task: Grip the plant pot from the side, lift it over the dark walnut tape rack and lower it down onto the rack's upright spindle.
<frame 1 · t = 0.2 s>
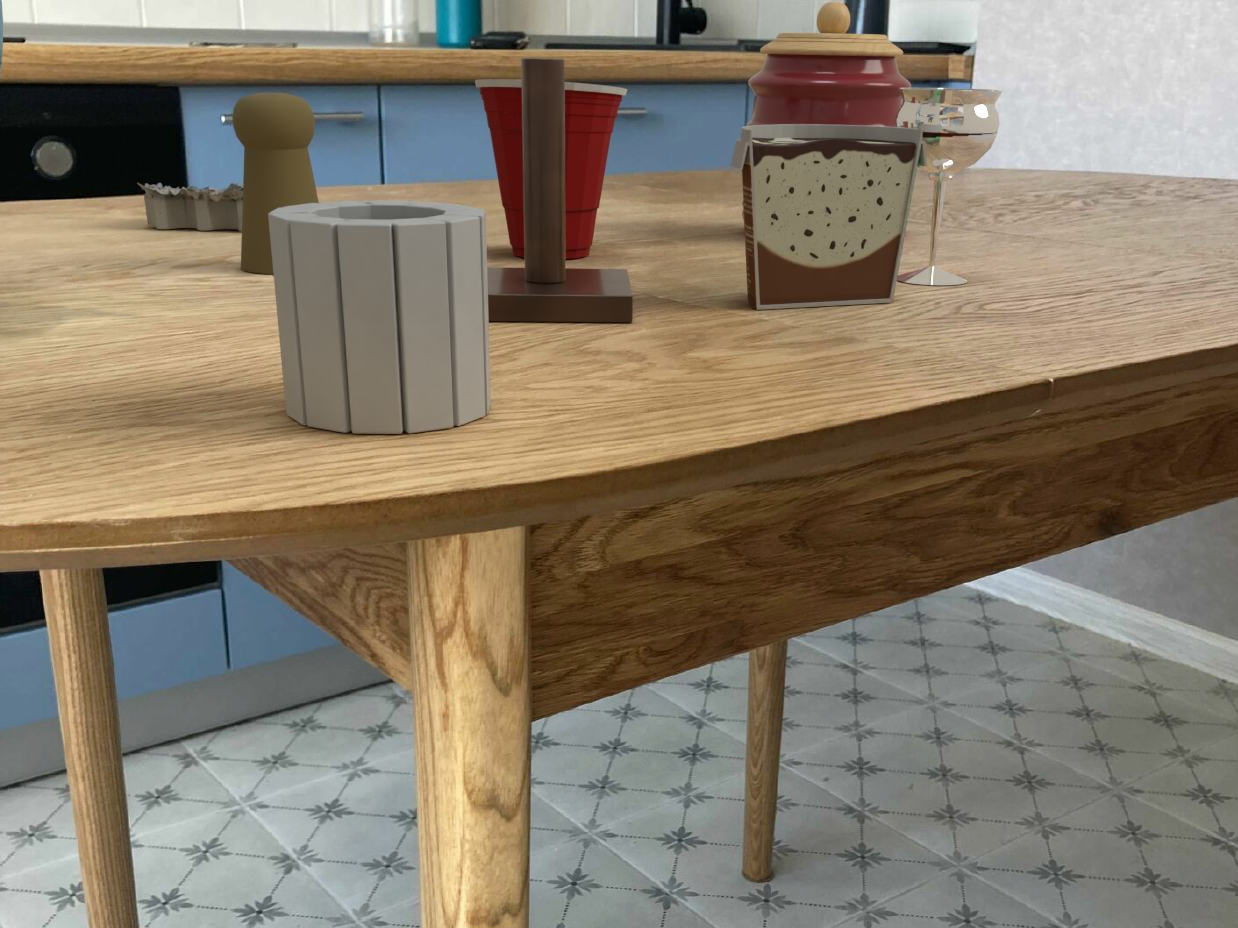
food container: (802, 301, 85), on the table
egg carton: (217, 228, 112), on the table
wineglass: (930, 282, 93), on the table
tape rack: (545, 306, 80), on the table
plastic cup: (552, 257, 101), on the table
cork: (286, 270, 93), on the table
kitchen canister: (818, 238, 113), on the table
plant pot: (390, 408, 57), on the table
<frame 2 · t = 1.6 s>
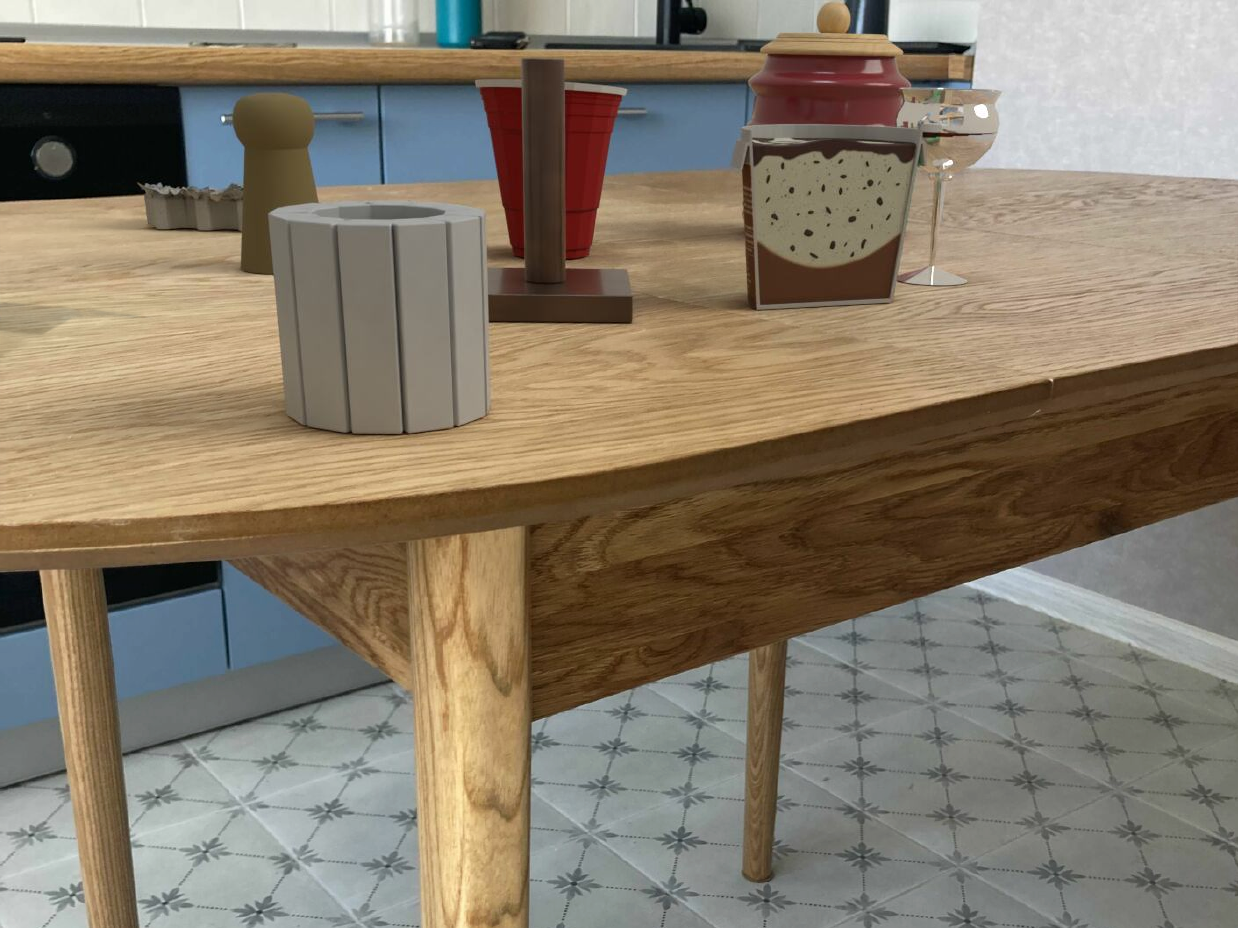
nothing on the table moved.
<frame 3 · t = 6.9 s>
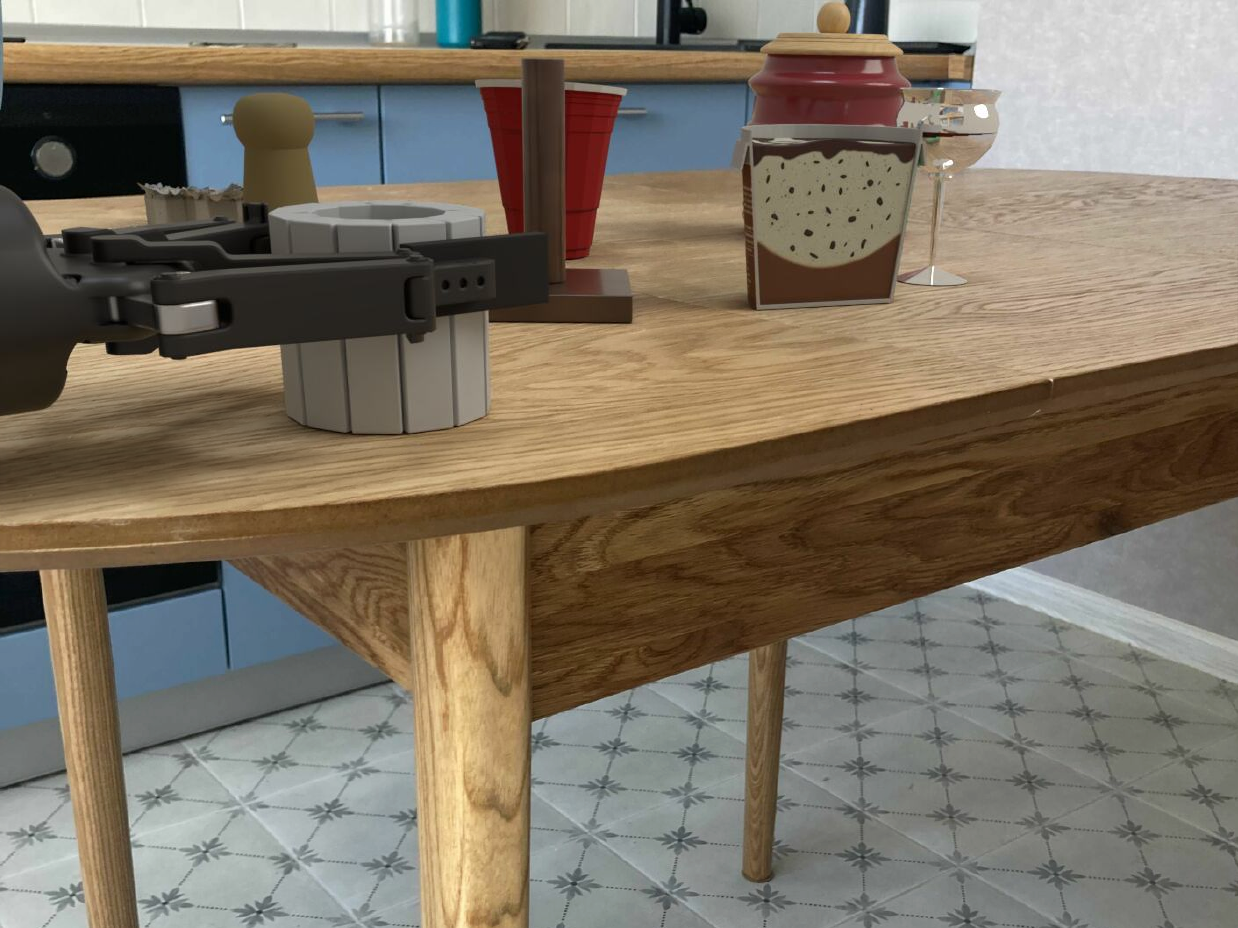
hand: (474, 254, 58), 6 cm above the table, tool horizontal, fingers closed on plant pot, 9 cm apart
plant pot: (390, 408, 57), on the table, touching gripper
everything else where it was.
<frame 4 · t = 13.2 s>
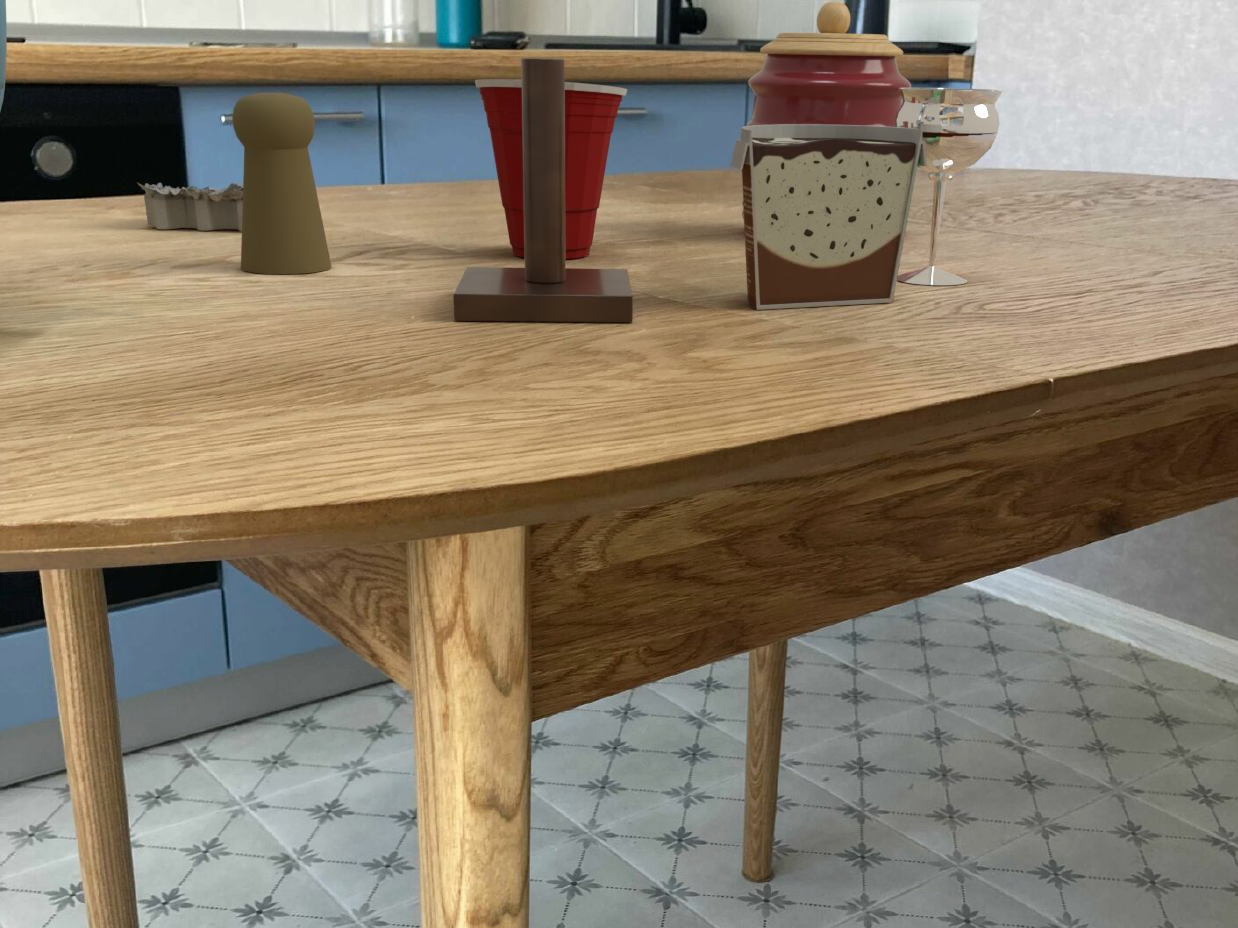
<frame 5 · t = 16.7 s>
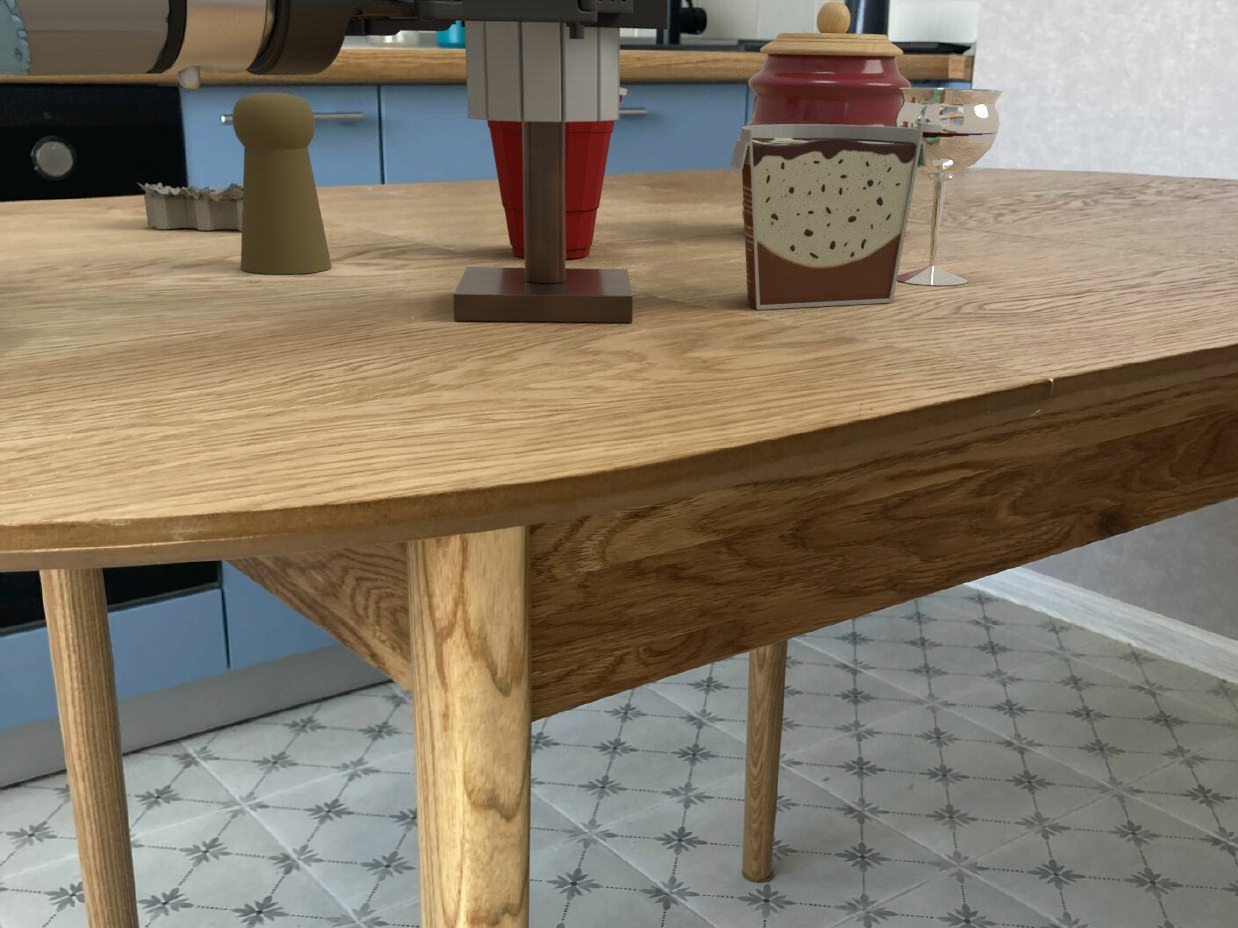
hand: (606, 3, 77), 16 cm above the table, tool horizontal, fingers closed on plant pot, 9 cm apart
plant pot: (544, 118, 76), point 10 cm above the table, touching gripper
everything else where it was.
when the fingers open (7 cm above the table, at t = 19.6 s): plant pot stays where it is, resting on tape rack.
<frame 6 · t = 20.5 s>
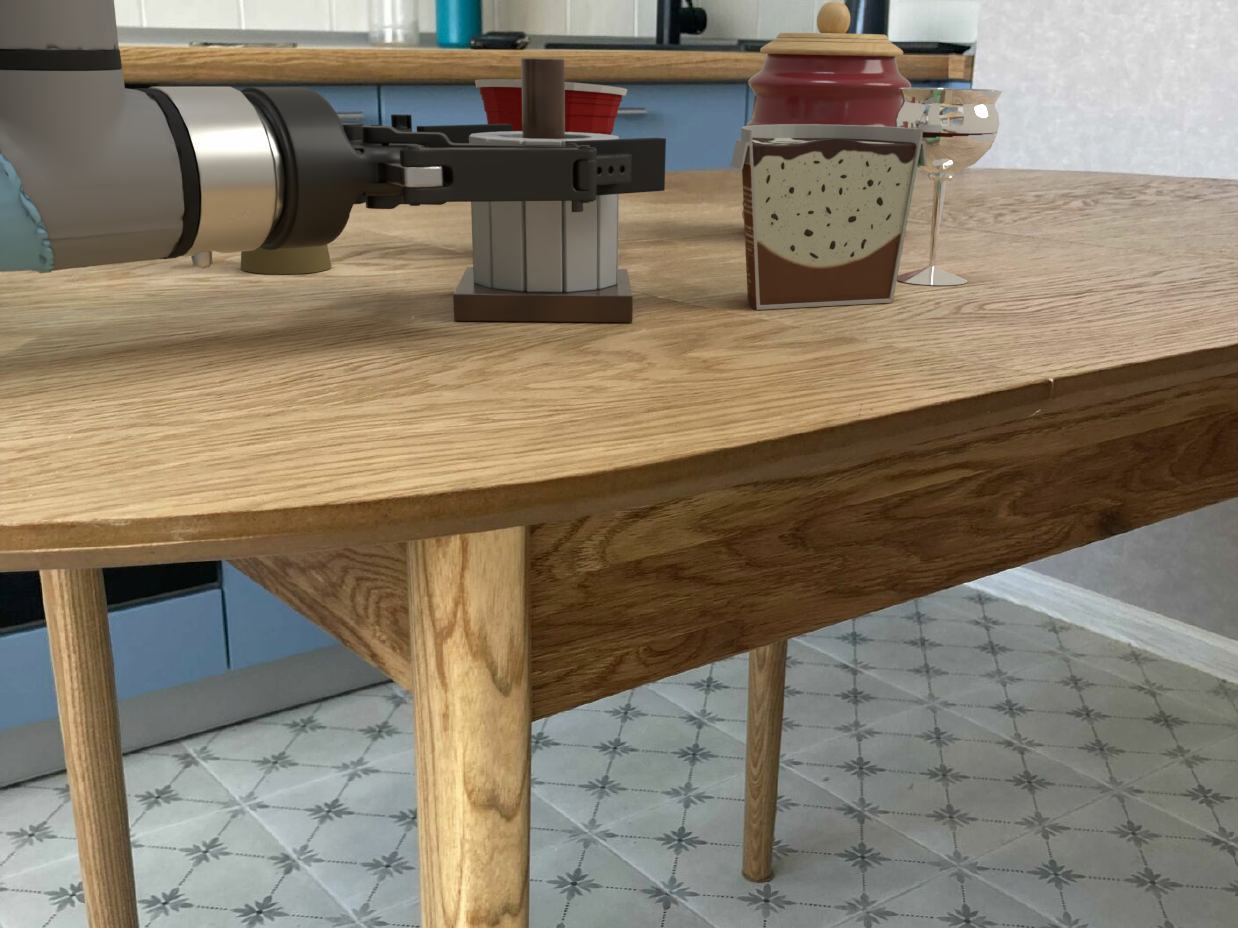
hand: (581, 155, 79), 8 cm above the table, tool horizontal, fingers open, 13 cm apart
plant pot: (546, 280, 80), point 1 cm above the table, touching tape rack
everything else where it was.
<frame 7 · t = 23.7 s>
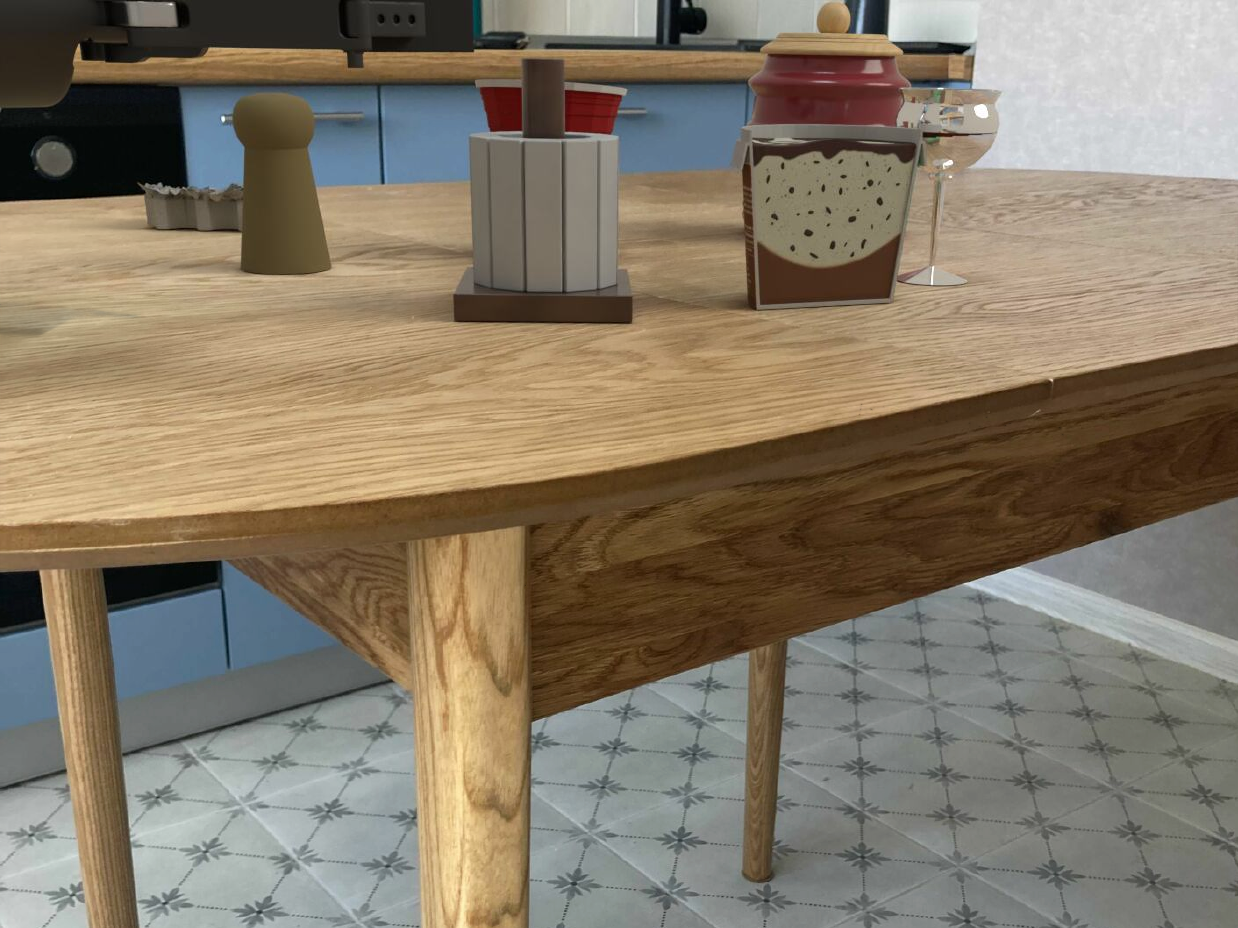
hand: (389, 18, 68), 15 cm above the table, tool horizontal, fingers open, 13 cm apart
nothing on the table moved.
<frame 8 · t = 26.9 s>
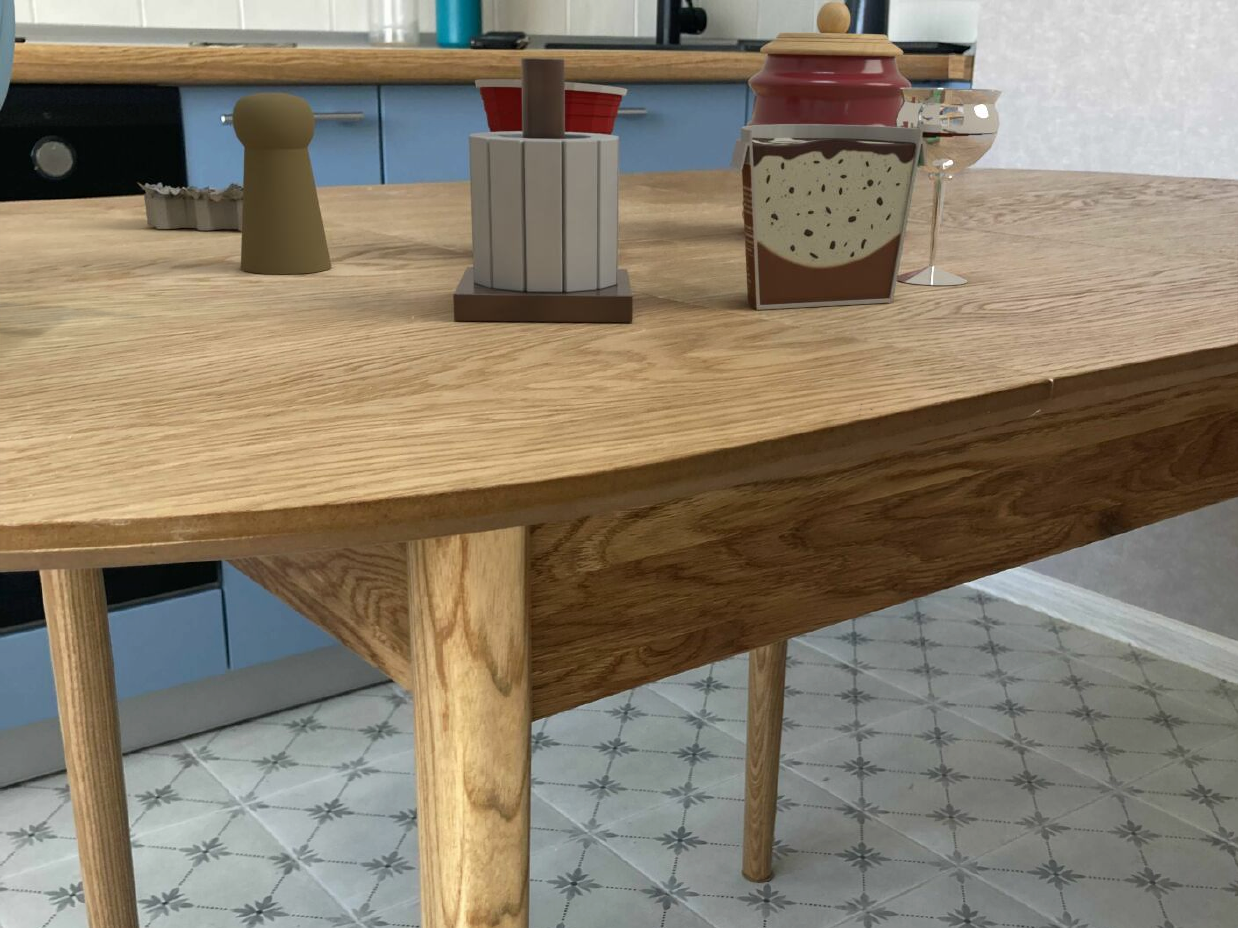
nothing on the table moved.
at the end: plant pot 0.1 cm off-centre on the tape rack, point 1.5 cm above the tape rack's base; plant pot tilted 0°; the gripper is holding nothing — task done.
